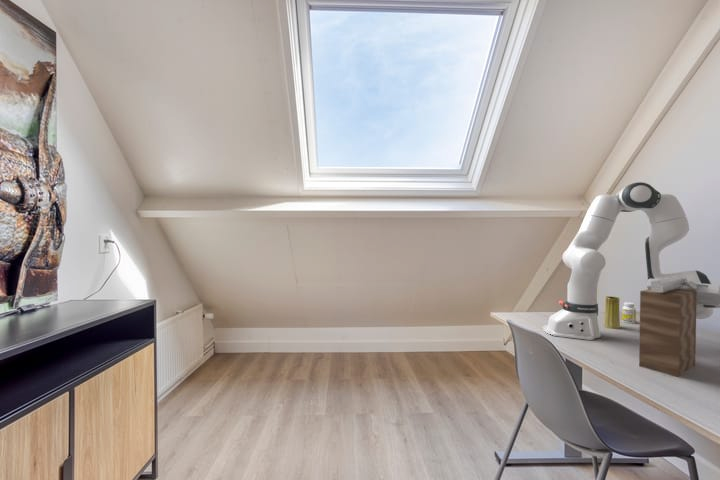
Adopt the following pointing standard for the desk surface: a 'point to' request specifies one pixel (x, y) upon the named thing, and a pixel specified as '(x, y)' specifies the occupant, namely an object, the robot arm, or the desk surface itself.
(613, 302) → the vase
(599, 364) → the desk surface
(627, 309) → the supplement bottle
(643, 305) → the pedestal
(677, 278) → the block
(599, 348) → the desk surface
